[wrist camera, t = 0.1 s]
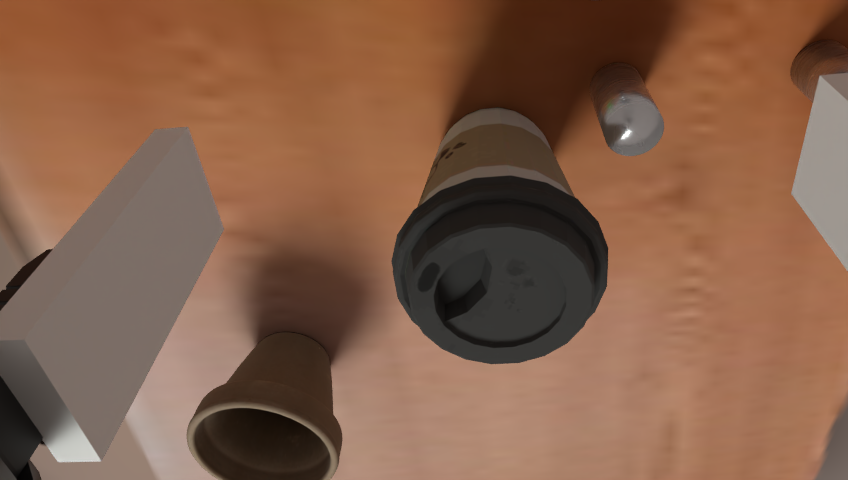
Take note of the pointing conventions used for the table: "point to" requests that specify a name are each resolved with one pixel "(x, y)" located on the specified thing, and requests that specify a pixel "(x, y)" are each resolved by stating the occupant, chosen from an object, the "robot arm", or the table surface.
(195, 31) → the table surface
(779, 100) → the table surface
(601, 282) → the coffee cup
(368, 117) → the table surface
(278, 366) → the flower pot
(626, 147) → the spacers
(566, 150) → the table surface
